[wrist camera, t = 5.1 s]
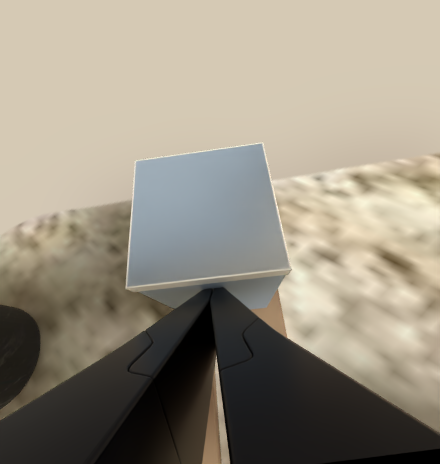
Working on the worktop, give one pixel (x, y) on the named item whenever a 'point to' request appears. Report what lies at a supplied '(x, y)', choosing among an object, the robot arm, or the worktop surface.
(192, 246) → the block
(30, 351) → the travel mug
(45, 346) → the worktop surface
